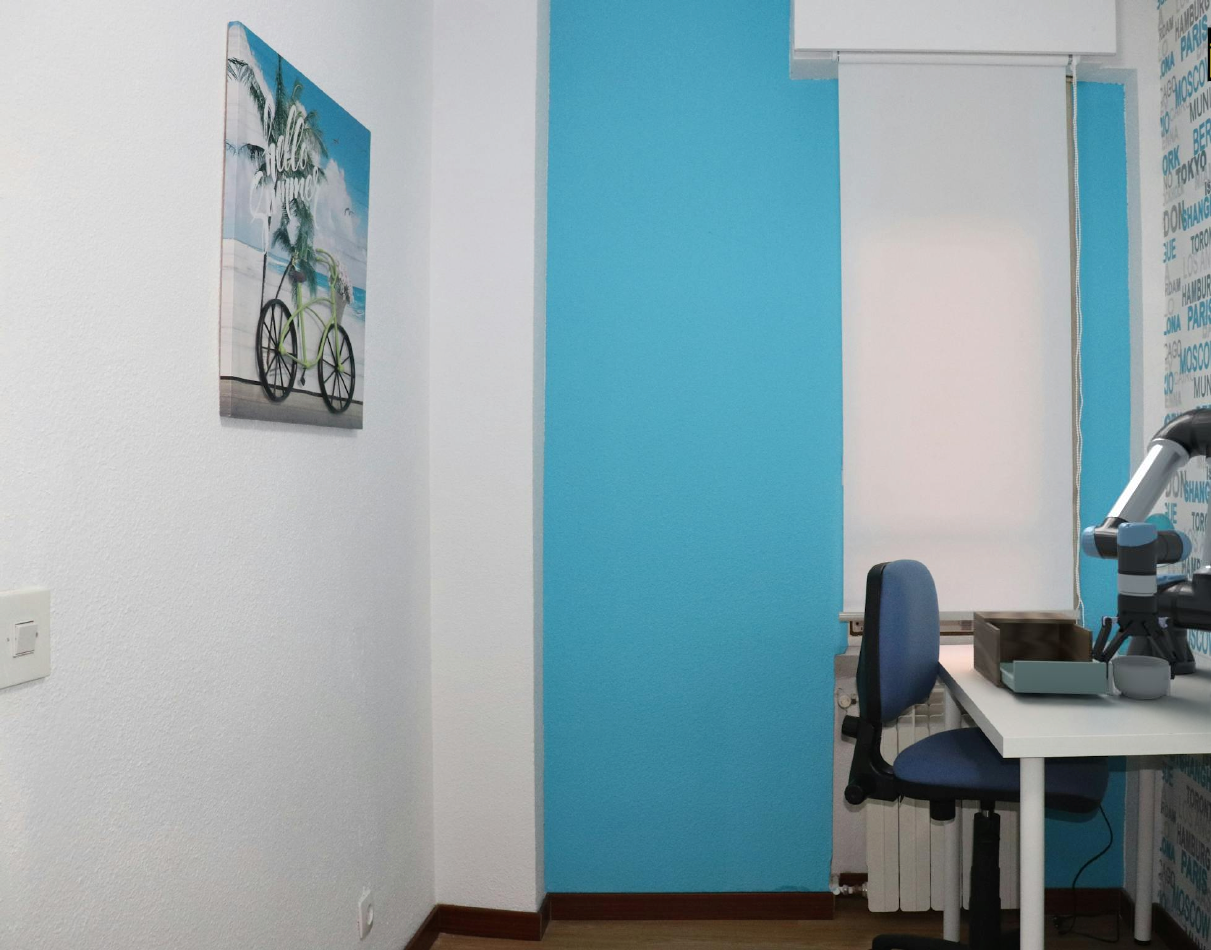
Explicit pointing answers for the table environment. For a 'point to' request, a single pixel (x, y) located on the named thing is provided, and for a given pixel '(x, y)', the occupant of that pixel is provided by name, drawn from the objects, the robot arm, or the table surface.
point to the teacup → (1140, 676)
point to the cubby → (1027, 640)
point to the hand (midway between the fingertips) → (1137, 693)
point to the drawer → (1055, 677)
